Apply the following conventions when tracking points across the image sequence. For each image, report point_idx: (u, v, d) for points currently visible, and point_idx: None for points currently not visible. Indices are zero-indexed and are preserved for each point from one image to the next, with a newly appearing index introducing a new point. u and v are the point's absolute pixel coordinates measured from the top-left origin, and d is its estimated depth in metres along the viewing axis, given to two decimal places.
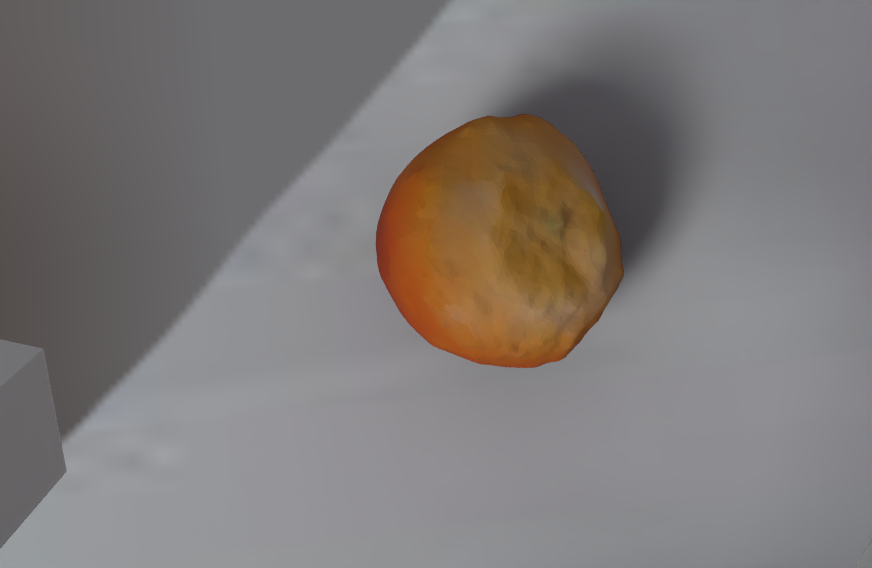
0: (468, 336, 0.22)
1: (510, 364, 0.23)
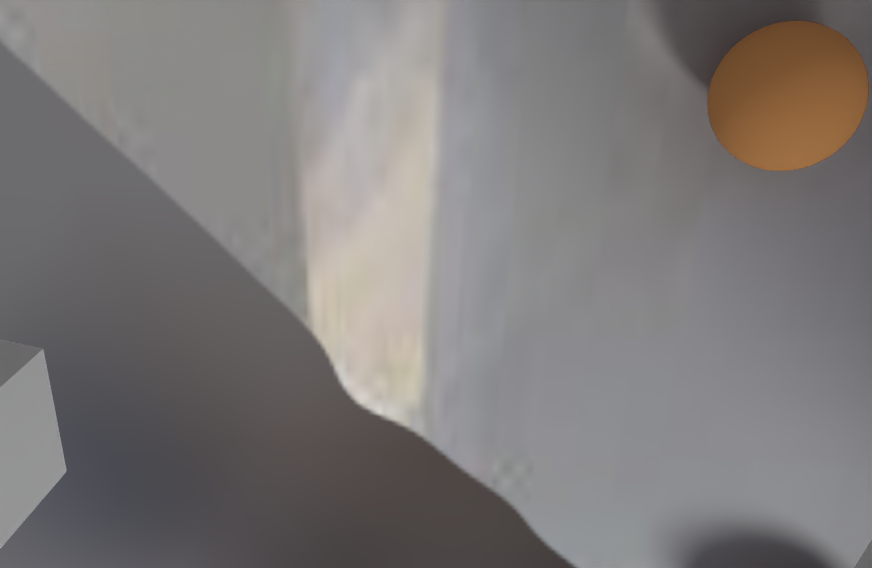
0: None
1: None
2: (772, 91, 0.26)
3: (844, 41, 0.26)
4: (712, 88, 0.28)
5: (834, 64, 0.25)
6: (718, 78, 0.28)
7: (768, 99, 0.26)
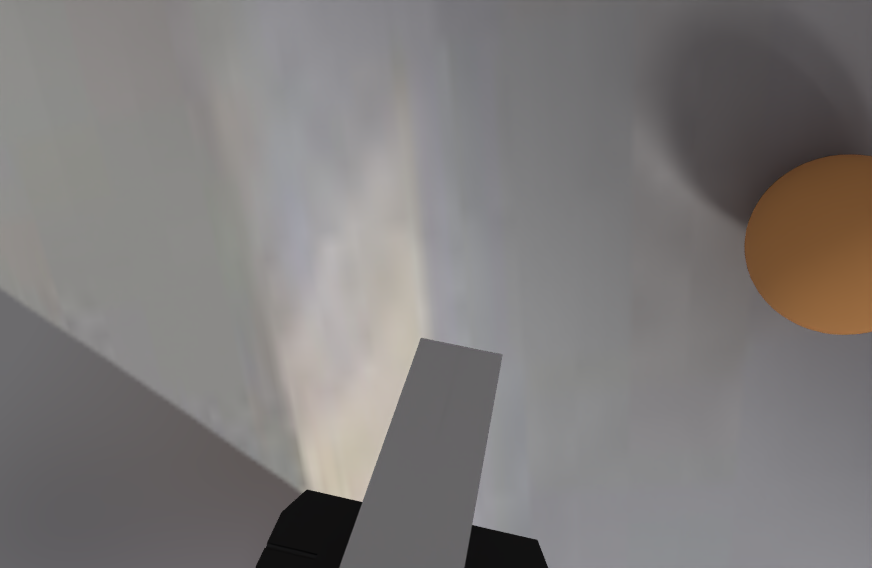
0: None
1: None
2: (831, 261, 0.21)
3: None
4: (750, 244, 0.23)
5: None
6: (757, 235, 0.22)
7: (828, 271, 0.21)
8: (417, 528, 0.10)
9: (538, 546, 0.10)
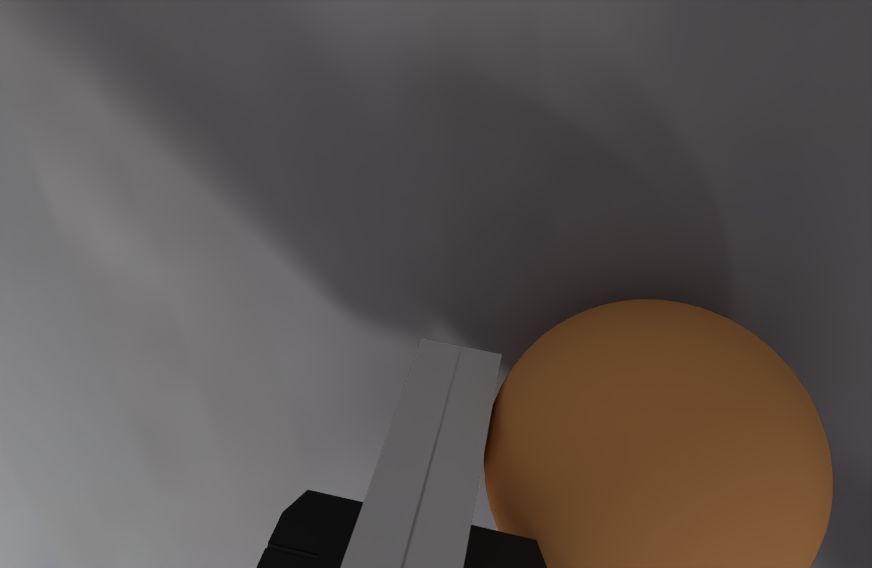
0: None
1: None
2: (825, 531, 0.11)
3: (738, 325, 0.12)
4: None
5: (805, 388, 0.12)
6: None
7: (820, 545, 0.11)
8: (416, 528, 0.10)
9: (538, 546, 0.10)
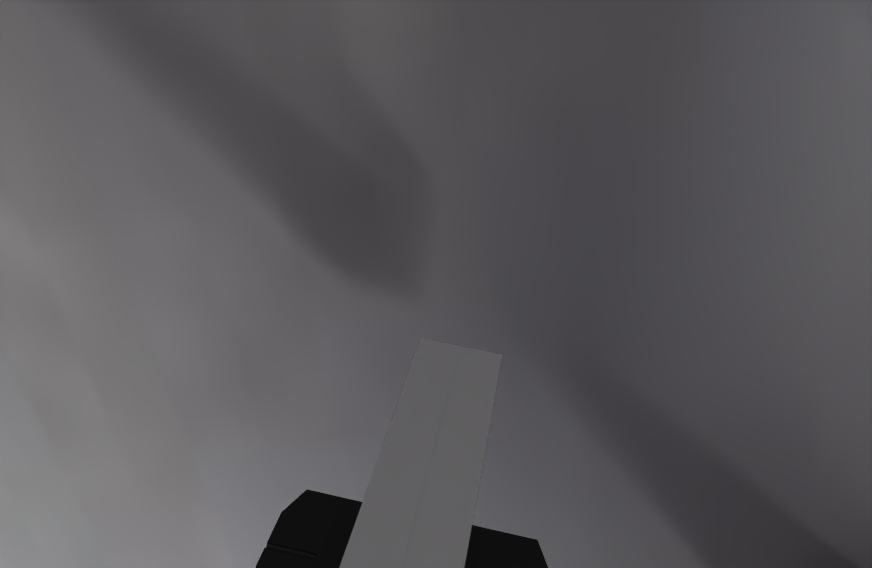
0: None
1: None
2: None
3: None
4: None
5: None
6: None
7: None
8: (417, 528, 0.10)
9: (538, 546, 0.10)
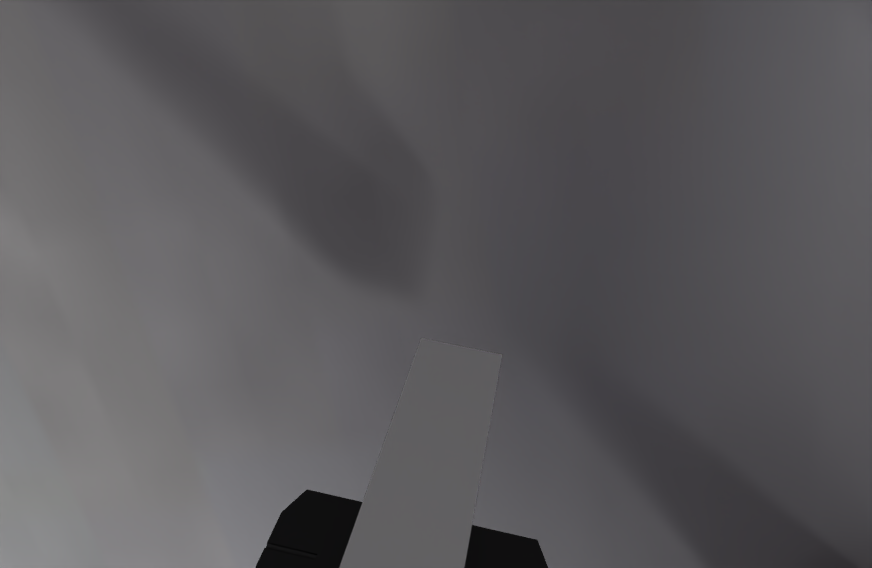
0: None
1: None
2: None
3: None
4: None
5: None
6: None
7: None
8: (417, 528, 0.10)
9: (538, 546, 0.10)
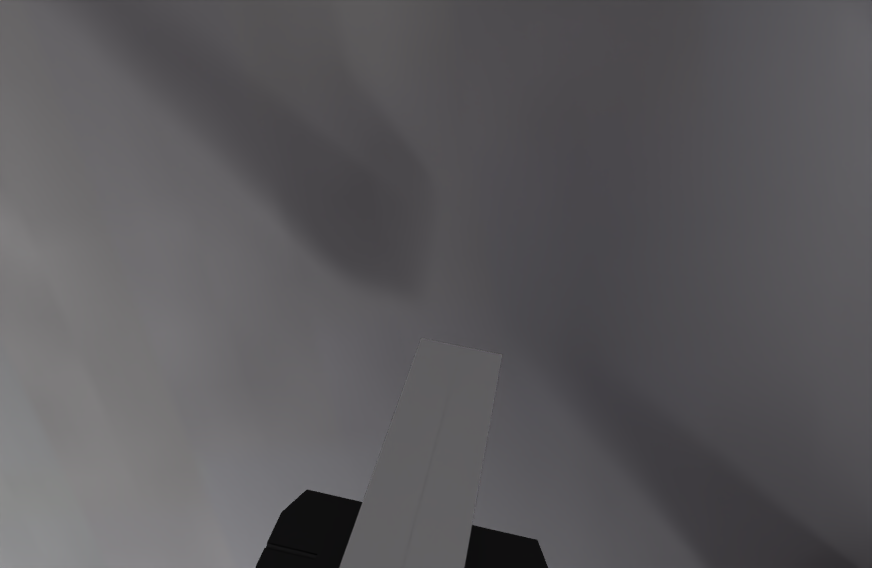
0: None
1: None
2: None
3: None
4: None
5: None
6: None
7: None
8: (417, 528, 0.10)
9: (538, 546, 0.10)
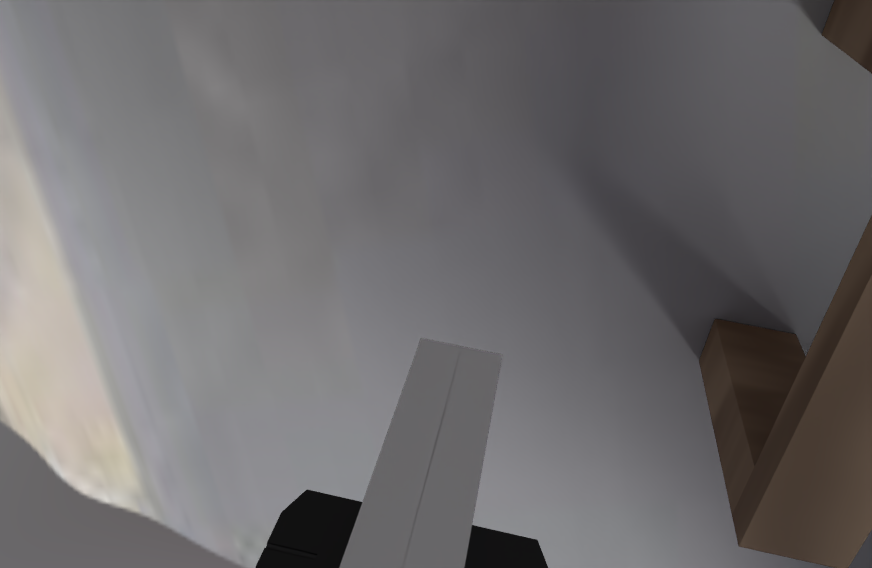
0: None
1: None
2: None
3: None
4: None
5: None
6: None
7: None
8: (417, 528, 0.10)
9: (538, 546, 0.10)
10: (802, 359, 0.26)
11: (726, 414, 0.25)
